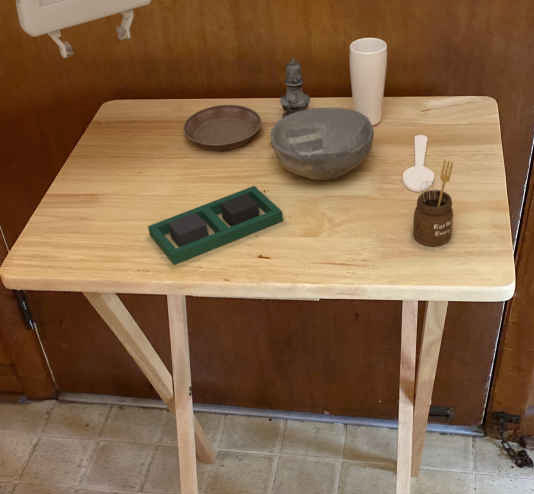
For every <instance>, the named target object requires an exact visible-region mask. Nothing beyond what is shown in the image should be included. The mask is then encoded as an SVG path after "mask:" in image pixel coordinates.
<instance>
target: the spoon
mask: <svg viewBox="0 0 534 494" xmlns="http://www.w3.org/2000/svg"><path fill="white" fill-rule="evenodd" d="M428 140H429V138H428V136H427V135H424V134H418V135H415V136H414V165H413V166H410V167H409V168H407V169H405V171H403V174H402V183H403V185H404V186H405V187H406V188H407V189H408V190H410V191H412V192H415V193H420V188H421V185H422V190H421V192H425V191H427V190H429V189H430V187H432V185H434V184H433V183H435V173H434V171H433V170H431V169H430V168H428V167H426V166H425V159H426V154H427V147H428V142H429V141H428ZM426 181H427V182H428V181H429V183H430V184H429V183H427V188H426V186H425V185H426ZM431 181H432V183H431ZM424 183H425V184H424ZM428 185H429V187H428ZM424 187H425V188H424Z"/></svg>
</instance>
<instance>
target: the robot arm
mask: <svg viewBox="0 0 534 494" xmlns="http://www.w3.org/2000/svg"><path fill="white" fill-rule="evenodd" d="M14 1H15V6H16V12H17V17H18V21H19V25H20V27H21V29H22V30H23V31H24V32H25V33H26V34H28V35H29V36H30V37H33V38H35V37H40V36H43V35H46V34H47V35H48V36H49V37H50V38H51V39H52V41H54V42H55V44H57V45H58V49H59V53H60V55H61V57H62V58H63V59H67V58H70V57H73V56H74V51H73V48H72V47H73V46H72V44H71V43H70V42H68V41H64V42H63V41H61V39H60V38H61V37H62V34H61V30H64V29H67V28H72V27H74V26H77V25H78V26H79V25H81V24H85V23H88V22H93V21H95V20H99V19H103V18H106V17H109V16H113V15H117V14H121V15H122V19H121V23H120V25H118V26H116V27H115V28H116V29H115V30H116V32H117V37H118V40H120V41H121V42H124V41H127V40H131V38H132V37H131V36H132V35H131V31H130V28H131V26H132V24H133V23H132V22H133V20H134V16H135V15H134V10H135V9H138V8H142V7H145V6H149V5H150V4H151V3H152V1H153V0H14Z"/></svg>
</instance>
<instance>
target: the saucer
mask: <svg viewBox="0 0 534 494" xmlns="http://www.w3.org/2000/svg"><path fill="white" fill-rule="evenodd" d="M261 126H262V118H261V115H260V114H259V113H258V112H256V111H255V110H253V109H252V108H250V107H247V106H243V105H239V104H237V105H236V104H221V105H219V104H218V105H214V106H210V107H206V108H203V109H201V110H198V111H196V112H195V113H193V114H192V115H190V116H189V117H188V118H187V119H186V120H185V122H184V123H183V133H184V135H185V136H186V137H187V138H188V139H189V140H190V141H191V142H193V143H194V144H196V145H197V146H199V147H202V148H204V149H207V150H212V151H227V150H232V149H236V148H239V147H241V146H243V145H245V144H246V143H248V142H249V141H250V140H251V139H252V138H254V136H256V134H257V133H258V131H260V128H261Z"/></svg>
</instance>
